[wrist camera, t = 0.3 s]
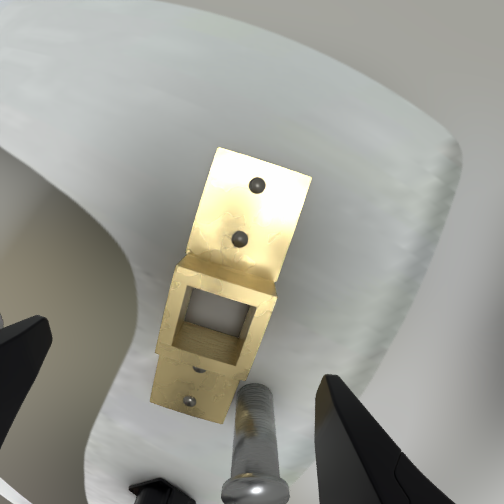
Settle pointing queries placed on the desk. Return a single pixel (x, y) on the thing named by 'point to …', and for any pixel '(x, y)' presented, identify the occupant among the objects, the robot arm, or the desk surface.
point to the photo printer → (1, 322)
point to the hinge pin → (255, 452)
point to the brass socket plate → (226, 281)
